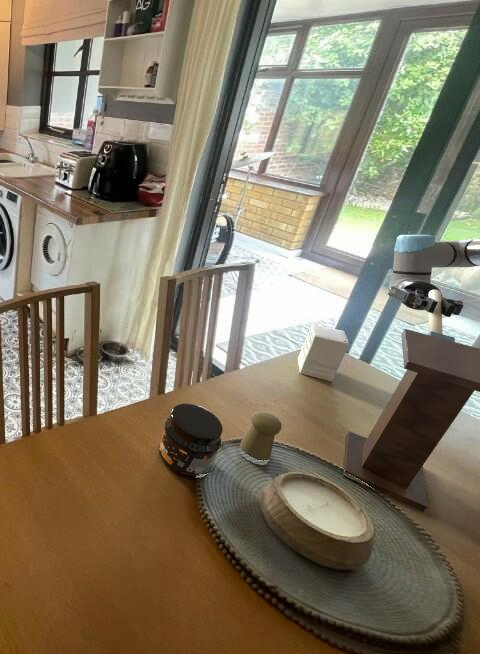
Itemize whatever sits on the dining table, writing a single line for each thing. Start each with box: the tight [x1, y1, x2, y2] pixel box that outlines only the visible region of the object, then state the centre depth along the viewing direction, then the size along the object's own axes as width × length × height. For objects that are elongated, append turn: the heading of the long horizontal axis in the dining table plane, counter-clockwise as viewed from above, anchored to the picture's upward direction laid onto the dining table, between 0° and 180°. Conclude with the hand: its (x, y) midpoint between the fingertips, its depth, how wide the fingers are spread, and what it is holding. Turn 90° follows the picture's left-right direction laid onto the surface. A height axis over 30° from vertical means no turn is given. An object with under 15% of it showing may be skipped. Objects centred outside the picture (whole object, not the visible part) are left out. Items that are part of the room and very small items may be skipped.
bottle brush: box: [427, 289, 456, 342], centre depth 91 cm, size 4×25×4 cm, turn 140°
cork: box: [239, 410, 282, 461], centre depth 88 cm, size 6×6×11 cm
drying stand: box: [342, 328, 480, 513], centre depth 80 cm, size 12×14×30 cm
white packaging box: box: [297, 323, 350, 383], centre depth 113 cm, size 7×7×13 cm
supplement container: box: [158, 403, 224, 480], centre depth 87 cm, size 10×10×12 cm
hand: (441, 309), depth 91 cm, fingers closed on bottle brush, 2 cm apart
